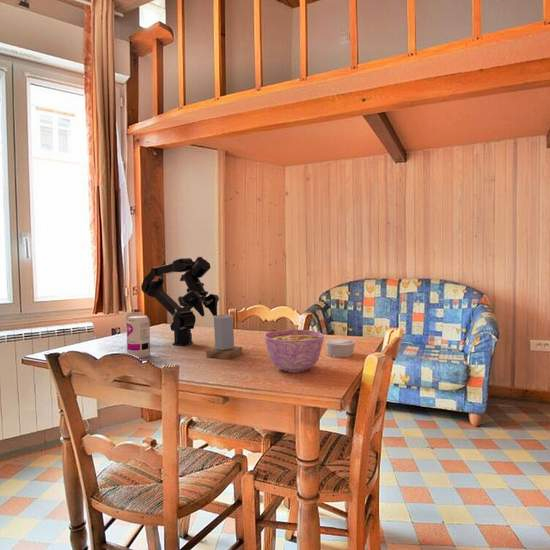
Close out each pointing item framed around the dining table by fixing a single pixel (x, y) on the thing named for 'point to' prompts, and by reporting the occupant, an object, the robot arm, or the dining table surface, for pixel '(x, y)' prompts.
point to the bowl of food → (294, 348)
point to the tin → (223, 332)
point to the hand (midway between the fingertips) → (209, 316)
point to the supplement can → (138, 336)
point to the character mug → (131, 315)
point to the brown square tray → (224, 353)
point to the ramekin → (340, 347)
